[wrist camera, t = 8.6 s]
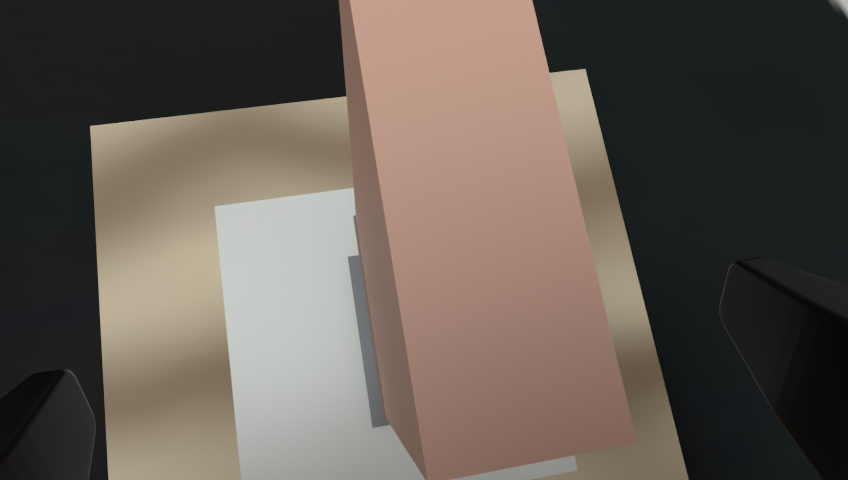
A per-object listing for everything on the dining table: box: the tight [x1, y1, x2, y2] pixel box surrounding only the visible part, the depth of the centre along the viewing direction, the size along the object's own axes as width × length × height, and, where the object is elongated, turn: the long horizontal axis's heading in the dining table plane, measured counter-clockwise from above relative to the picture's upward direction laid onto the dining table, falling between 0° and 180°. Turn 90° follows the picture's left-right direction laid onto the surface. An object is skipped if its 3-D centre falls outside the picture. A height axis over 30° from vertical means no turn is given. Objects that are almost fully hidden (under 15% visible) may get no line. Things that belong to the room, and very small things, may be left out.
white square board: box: [214, 188, 577, 480], centre depth 19 cm, size 9×9×3 cm
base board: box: [90, 69, 689, 480], centre depth 20 cm, size 20×18×1 cm
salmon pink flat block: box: [339, 0, 637, 480], centre depth 8 cm, size 4×1×9 cm, turn 10°
